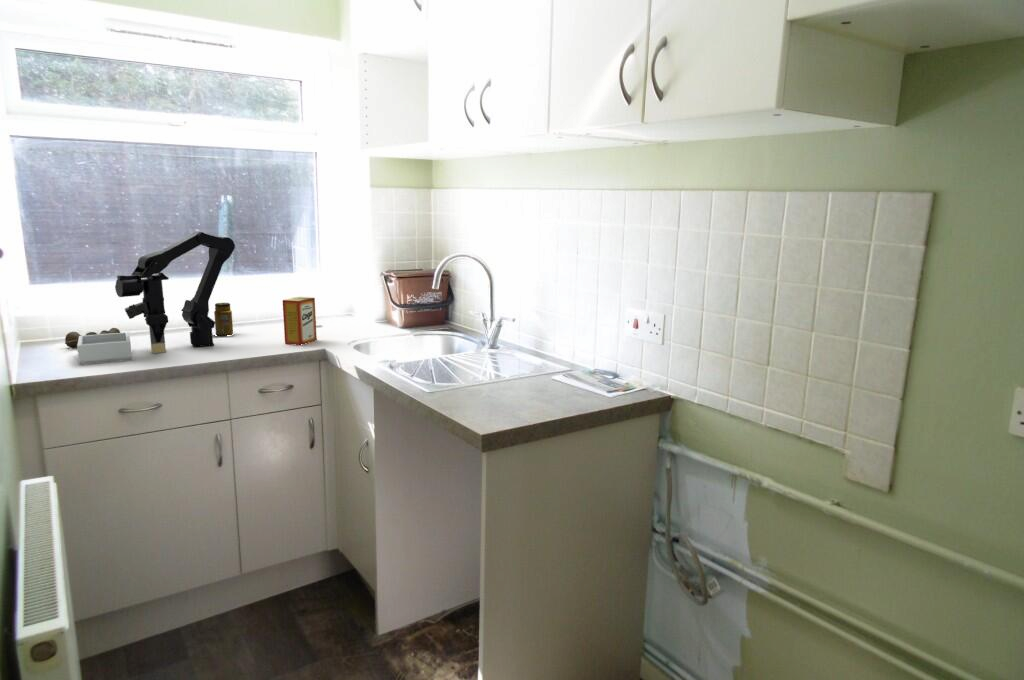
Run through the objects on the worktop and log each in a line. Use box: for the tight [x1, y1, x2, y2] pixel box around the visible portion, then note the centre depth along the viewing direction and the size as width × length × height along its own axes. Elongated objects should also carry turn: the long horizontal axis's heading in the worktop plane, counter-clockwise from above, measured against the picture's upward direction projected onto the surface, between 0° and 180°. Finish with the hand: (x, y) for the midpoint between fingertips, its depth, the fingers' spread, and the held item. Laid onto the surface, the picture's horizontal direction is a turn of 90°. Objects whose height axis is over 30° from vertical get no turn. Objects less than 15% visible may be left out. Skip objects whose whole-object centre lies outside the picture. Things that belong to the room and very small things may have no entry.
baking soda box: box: [282, 296, 318, 346], centre depth 239 cm, size 10×6×16 cm
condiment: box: [212, 302, 234, 338], centre depth 251 cm, size 7×8×12 cm
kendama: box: [64, 327, 121, 348], centre depth 231 cm, size 6×10×20 cm
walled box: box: [76, 331, 133, 366], centre depth 214 cm, size 14×18×6 cm
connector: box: [148, 325, 167, 354], centre depth 222 cm, size 4×4×9 cm
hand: (157, 341), depth 222 cm, fingers closed on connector, 4 cm apart
